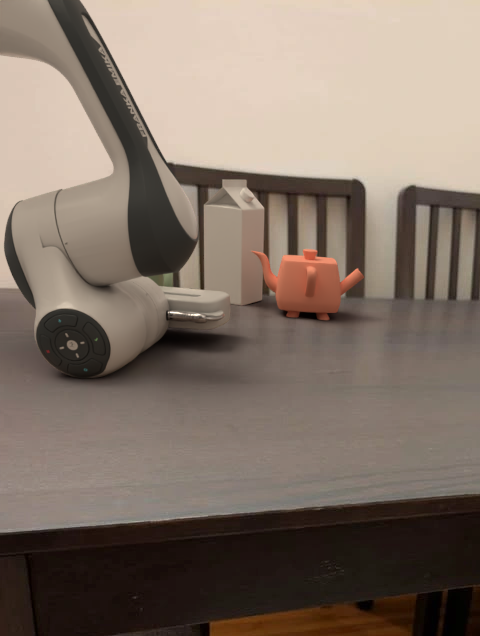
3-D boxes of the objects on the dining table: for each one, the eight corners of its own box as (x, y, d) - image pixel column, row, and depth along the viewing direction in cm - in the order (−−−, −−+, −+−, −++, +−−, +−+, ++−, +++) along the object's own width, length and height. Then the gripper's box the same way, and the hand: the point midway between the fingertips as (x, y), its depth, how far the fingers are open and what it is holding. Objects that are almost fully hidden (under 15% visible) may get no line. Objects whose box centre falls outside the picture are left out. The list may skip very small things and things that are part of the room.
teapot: (315, 304, 126) (318, 243, 122) (364, 317, 119) (369, 253, 114) (249, 311, 116) (250, 245, 112) (298, 326, 109) (301, 256, 105)
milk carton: (203, 300, 121) (203, 177, 113) (226, 295, 127) (227, 177, 119) (241, 307, 119) (242, 181, 111) (262, 301, 125) (265, 181, 117)
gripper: (218, 293, 82) (242, 275, 95) (38, 276, 82) (86, 261, 95) (218, 348, 85) (241, 323, 97) (43, 332, 85) (89, 309, 97)
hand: (163, 292), depth 96 cm, fingers closed
